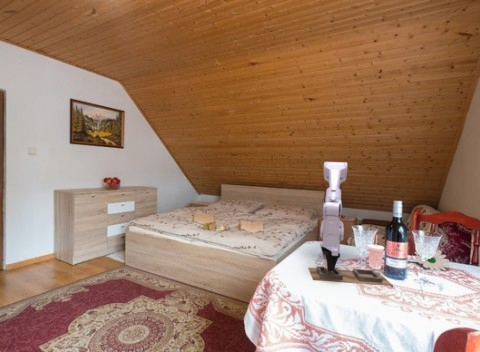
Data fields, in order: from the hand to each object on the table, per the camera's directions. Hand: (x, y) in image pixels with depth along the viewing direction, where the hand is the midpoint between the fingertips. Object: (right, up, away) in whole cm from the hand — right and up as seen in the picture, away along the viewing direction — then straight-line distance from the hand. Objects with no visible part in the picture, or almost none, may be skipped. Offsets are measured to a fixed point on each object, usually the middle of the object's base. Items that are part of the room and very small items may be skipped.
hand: (329, 268), depth 105 cm
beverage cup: (+23, -4, +11) cm, 26 cm away
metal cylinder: (0, -2, 0) cm, 2 cm away
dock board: (+7, -3, 0) cm, 8 cm away
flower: (+42, -4, +18) cm, 46 cm away
